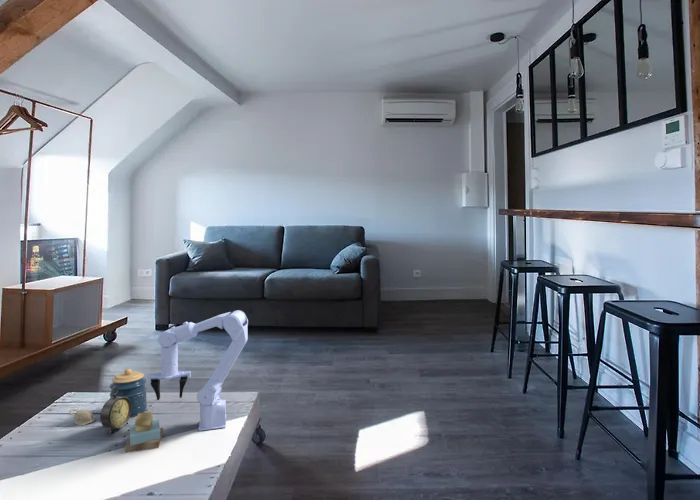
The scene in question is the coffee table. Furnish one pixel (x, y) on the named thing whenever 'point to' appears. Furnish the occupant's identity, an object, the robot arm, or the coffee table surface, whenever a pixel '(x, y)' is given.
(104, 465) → the coffee table surface
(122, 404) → the alarm clock
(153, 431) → the tower top
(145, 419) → the ochre cube
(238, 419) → the coffee table surface
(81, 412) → the decorative ornament
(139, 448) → the tower base
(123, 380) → the canister
